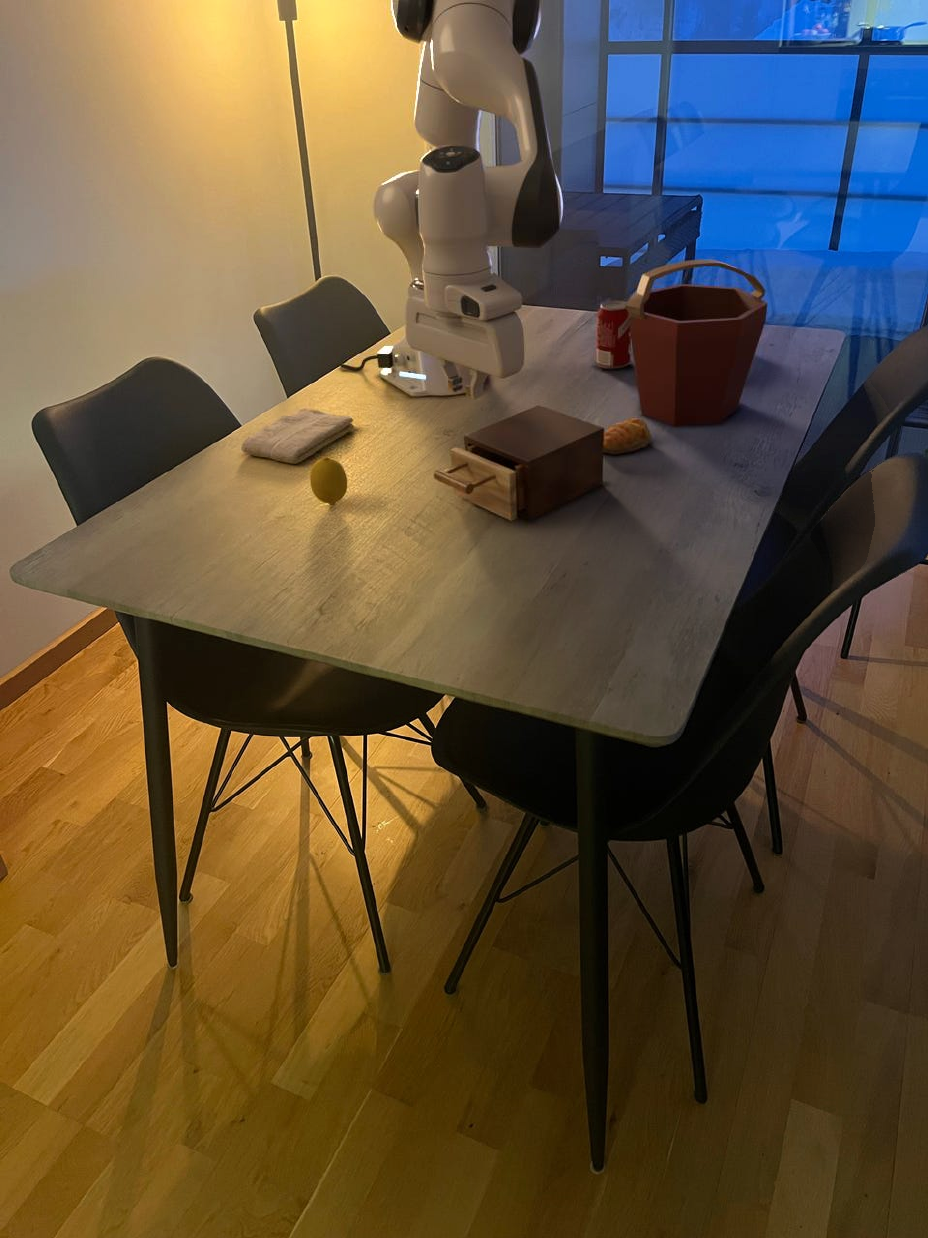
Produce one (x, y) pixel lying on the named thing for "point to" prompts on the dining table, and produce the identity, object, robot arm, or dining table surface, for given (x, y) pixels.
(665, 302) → the bucket
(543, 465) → the cabinet
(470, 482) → the drawer
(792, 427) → the dining table surface
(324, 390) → the dining table surface
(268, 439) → the washcloth
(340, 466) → the lemon
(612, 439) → the pastry
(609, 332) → the soda can
